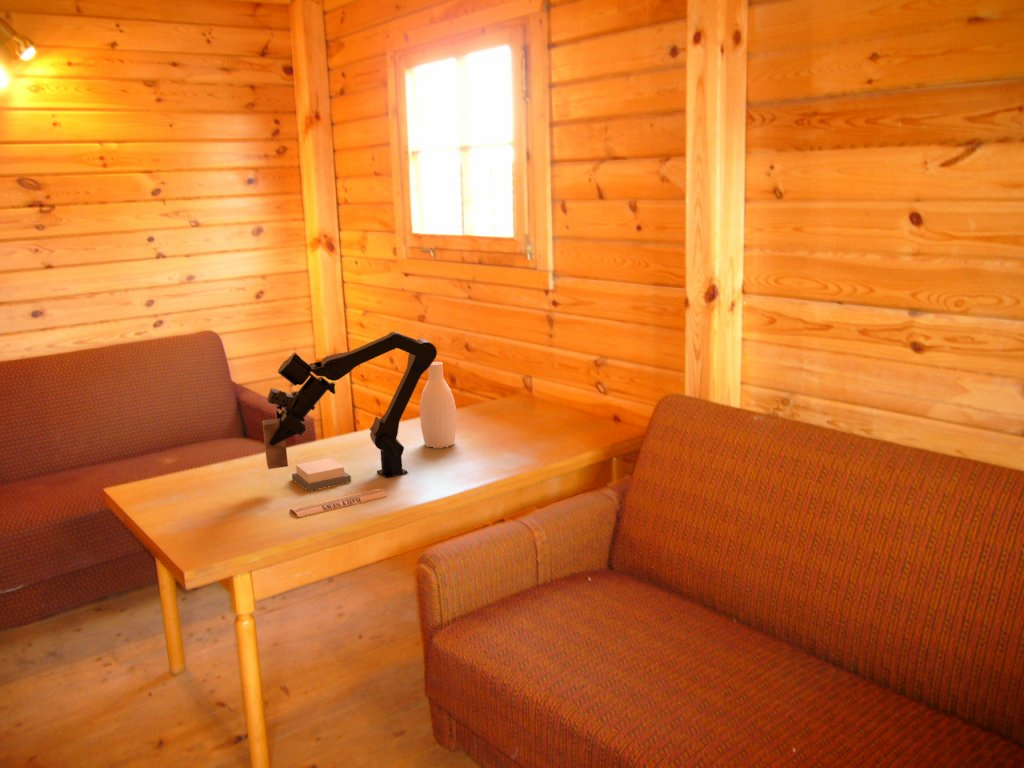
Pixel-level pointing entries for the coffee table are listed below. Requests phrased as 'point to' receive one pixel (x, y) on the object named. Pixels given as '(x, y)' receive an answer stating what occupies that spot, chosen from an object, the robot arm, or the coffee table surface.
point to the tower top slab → (320, 470)
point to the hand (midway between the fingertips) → (269, 441)
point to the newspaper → (339, 502)
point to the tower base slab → (321, 483)
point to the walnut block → (277, 452)
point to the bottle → (437, 410)
